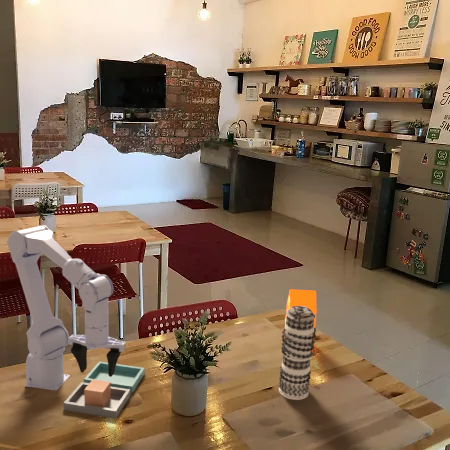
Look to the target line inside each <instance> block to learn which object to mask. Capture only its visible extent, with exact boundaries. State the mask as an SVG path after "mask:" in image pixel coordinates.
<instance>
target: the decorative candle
mask: <svg viewBox="0 0 450 450" xmlns="http://www.w3.org/2000/svg"><path fill="white" fill-rule="evenodd" d="M286 315H287V317H286ZM315 317H316V318H317V315H316V316H315V314H314V313H313V312H312V310H311V309H309V308H308V307H305V306H293V307H291V308H290V309H289V310H287V311H286V310H285V320H286V322H284V328H283V330H282V332H281V334H282V335H281V341H282V342H281V345H282V346H281V354H282V361H281V366H280V367H279V369H280V372H279V379H278V380H279V382H278V392H279V394H280V395H281V396H282V397H284V398H285V399H288V400H294V401H301V400H303V399H306V398H308V396H309V391H310V385H311V383H310V380H311V374H312V372H311V359H312V358H313V355H314V353H313V352H312V350H313V351H314V349H315V347H314V344H315V343H316V342H315V338H316V337H317V335H316V333H317V328H316V326H315V327H314V318H315ZM285 332H286V333H285ZM312 335H313V336H312ZM284 338H285V339H284Z"/></svg>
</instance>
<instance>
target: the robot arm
mask: <svg viewBox="0 0 450 450" xmlns="http://www.w3.org/2000/svg"><path fill="white" fill-rule="evenodd" d="M6 243H7V245H8V250H9V252H10V253H9V254H10V257H11V260H12V262H13V263H14V264H15V267H16V271H17V274H18V277H19V280H20V284H21V286H22V290H23V294H24V296H25V301H26V304H27V307H28V310H29V313H30V316H31V320H32V324H31V325H30V327H29V328H28V330H27V331H26V337H27V349H28V352H29V353H28V355H27V356H26V361H25V377H26V378H25V379H26V383H25V384H24V387H27V388H38V389H42V390H43V389H45V390H49V391H50V390H51V391H58V390H59V389H60V387H62V385H63V384H64V383H65V382H66V381H67V380H68V379H69V378H70V376H71V375H70V374H65V370H64V351H66V347H67V346H72V347H71V348H70V353H71V354H72V355H73V356H74V358H75V360H76V362H77V365H78V368H79V372H80V373H84V372H85V371H86V369H87V367H88V360H87V357H88V356H87V355H88V350H96V349H108V350H109V351H108V352H107V353H106V359H107V363H108V374H109V376H110V377H112V375H113V374H114V372H115V367H116V364H118V361H119V357H120V356H121V353H123V352H124V351H126V347H127V346H126V344H127V343H126V342H127V341H122V340H119V339H116V338H114V337H111V336H109V333H110V332H109V327H110V326H109V297H111V296H112V295H113V293H114V285H113V281H112V280H111V279H110V278H109V276H108V275H106V274H100V273H98V272H97V273H96V272H95V271H94V270H93V269H92V268H91V267H89V266H88V265H87V264H86V263H85V262H84V260H82V259H81V258H72V256H71V255H69V253H67V251H66V250H65V249H64V248H63V247H62V246H61V245H60V244H59V243H58V242H57V241H56V240H55V235H54V232H53V230H52V229H50V228H49V227H48V226H47V225H45V224H39V225H37V226H33V227H28V228H23V229H20V230H13V231H12V232H11V233H10V234H9V236H8V239H7V241H6ZM42 255H44V256H46V257H47V258H48V259H49V260H50V261H51V262H53V263H54V264H56V265H57V266H58V267H59V268H61V270H62V277H64V278H65V279H66V280H67V281H68V282H70V284H72V286H74V287H75V288H76V289H77V290H78V295H79V297H80V300H81V301H82V307H83V310H84V333H85V334H71V335H69V331H68V330H67V329H66V327H65V326H64V322H63V320H62V319H59V318H57V317H55V316H54V315H53V312H52V308H51V306H50V302H49V299H48V295H47V291H46V289H45V285H44V282H43V279H42V278H43V277H42V275H41V272H40V269H39V265H38V260H39V258H40V257H41V256H42Z"/></svg>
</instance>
